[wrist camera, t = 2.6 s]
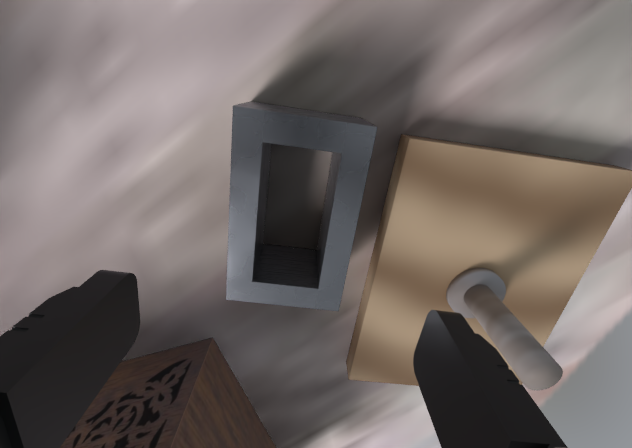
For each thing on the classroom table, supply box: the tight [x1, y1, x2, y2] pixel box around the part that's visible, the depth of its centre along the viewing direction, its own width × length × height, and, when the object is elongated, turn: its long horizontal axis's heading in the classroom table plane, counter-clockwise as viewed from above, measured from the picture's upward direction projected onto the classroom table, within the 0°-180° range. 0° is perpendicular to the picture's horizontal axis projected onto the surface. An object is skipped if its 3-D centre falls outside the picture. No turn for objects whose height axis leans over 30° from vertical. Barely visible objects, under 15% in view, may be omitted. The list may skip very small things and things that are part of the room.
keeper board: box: [346, 134, 632, 390], centre depth 17 cm, size 16×12×8 cm
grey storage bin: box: [226, 101, 377, 311], centre depth 16 cm, size 9×6×4 cm, turn 172°
